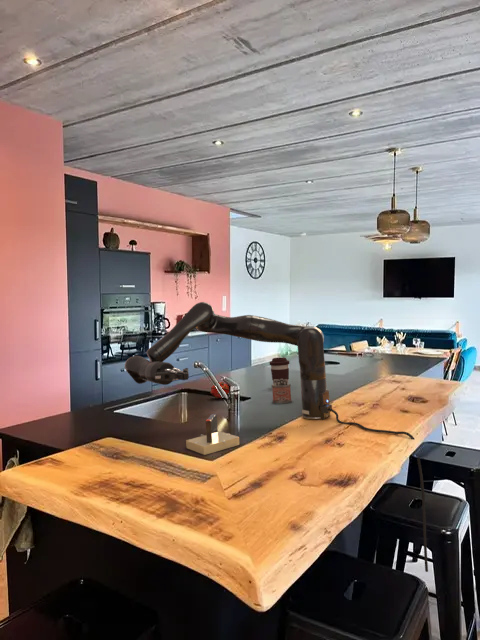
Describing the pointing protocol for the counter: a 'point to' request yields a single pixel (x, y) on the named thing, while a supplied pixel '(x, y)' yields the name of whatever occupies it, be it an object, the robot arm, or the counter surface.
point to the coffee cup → (279, 369)
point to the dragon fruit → (215, 392)
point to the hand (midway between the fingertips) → (186, 376)
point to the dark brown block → (211, 428)
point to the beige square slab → (218, 444)
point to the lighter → (281, 391)
